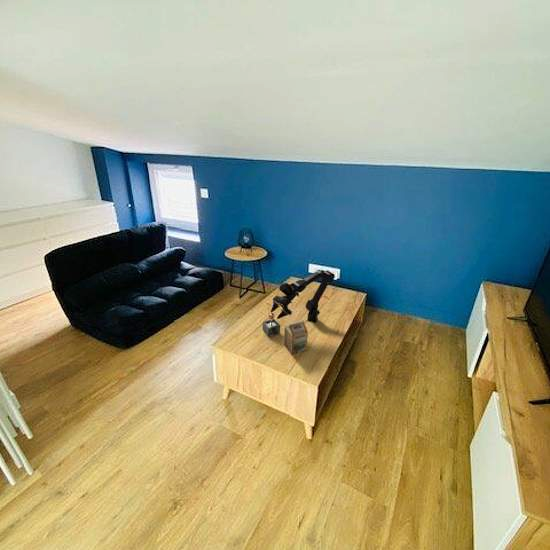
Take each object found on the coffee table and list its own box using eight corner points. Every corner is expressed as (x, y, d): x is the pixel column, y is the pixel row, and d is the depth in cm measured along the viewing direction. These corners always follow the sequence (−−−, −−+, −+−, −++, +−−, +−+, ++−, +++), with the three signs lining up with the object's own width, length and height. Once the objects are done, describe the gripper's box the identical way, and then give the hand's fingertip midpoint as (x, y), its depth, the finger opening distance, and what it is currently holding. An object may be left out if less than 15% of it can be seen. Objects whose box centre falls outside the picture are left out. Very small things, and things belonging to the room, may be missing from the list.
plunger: (273, 321, 204) (273, 310, 201) (277, 326, 199) (278, 315, 195) (264, 324, 202) (264, 313, 198) (269, 329, 196) (269, 317, 193)
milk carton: (291, 354, 180) (292, 329, 172) (284, 344, 189) (284, 319, 181) (306, 350, 184) (308, 325, 176) (298, 341, 193) (300, 316, 185)
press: (274, 326, 208) (274, 318, 205) (281, 335, 199) (281, 326, 196) (262, 329, 204) (262, 321, 201) (269, 338, 195) (269, 330, 192)
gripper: (275, 286, 201) (260, 303, 201) (288, 298, 186) (272, 316, 186) (284, 294, 208) (270, 311, 207) (298, 306, 192) (283, 324, 192)
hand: (274, 315), depth 198 cm, fingers open, 9 cm apart
